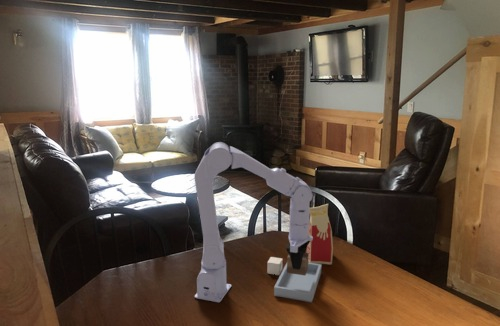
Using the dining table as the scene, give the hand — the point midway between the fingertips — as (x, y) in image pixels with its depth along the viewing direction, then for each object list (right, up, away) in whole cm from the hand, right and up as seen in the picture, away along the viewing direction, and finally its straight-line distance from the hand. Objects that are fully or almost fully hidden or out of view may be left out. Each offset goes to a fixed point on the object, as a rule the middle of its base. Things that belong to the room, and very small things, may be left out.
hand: (298, 264), depth 115 cm
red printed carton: (+10, -3, +20) cm, 22 cm away
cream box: (-6, -5, +11) cm, 14 cm away
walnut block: (0, -2, 0) cm, 2 cm away
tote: (+1, -7, +3) cm, 8 cm away
